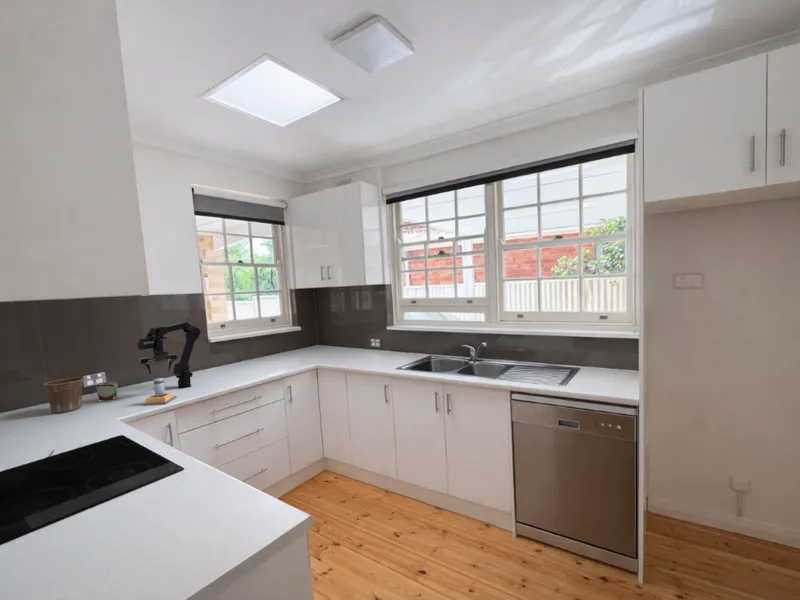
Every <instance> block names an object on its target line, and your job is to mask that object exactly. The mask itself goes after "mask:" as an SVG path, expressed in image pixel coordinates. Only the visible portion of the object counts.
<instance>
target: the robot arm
mask: <svg viewBox="0 0 800 600" xmlns="http://www.w3.org/2000/svg"><path fill="white" fill-rule="evenodd" d="M179 330H182V331H183V333H185V339H186V340H185V344H184V347H183V351H182V353H181V356H180V358H179V359H180V360H179V362H178V363H175V364H174V367H173V369H172V371H173V375H175V377H176V379H177V387H178V388H179V389H185V388H190V387H192V384H191V378H192V377H193V375H194V373H193V372H191V370H190V365H189V361H190V358H191V355H192V351H193V348H194V345H195V342H197V340H198V339H199V338H200V335H201V332H202V331H201V329H200V328H198V327H196V326H194V325H192V324H190V323H189V322H186V321H184V322H183V321H182V322H178V323H173V324H171V325H170V324H169V325H166V326H165V325H164V326H152V327H150V329H149V332H148V333H147V335H146V336H145V338H139V341H138V342H137V349H138V350H139V351H145V350H151V349H152V351H151V352H152V357H150V358H149V357H141V358H140V359H139V364H140V365H143V366H145V367H146V368H147V371H148V373H149V374H150V375H152V370H151V366H150V363H151V362H160V361H161V362H163V361H165V360H167V372H170V370H171V366H172V364H173V362H175V360H178V355H177V354H175V353H173V354H170V353H169V351H165V349H164V348H165V347H164V340H167V338H168V337H165V335H167V334H168V333H171V332H175V331H179Z"/></svg>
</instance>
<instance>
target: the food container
mask: <svg viewBox="0 0 800 600" xmlns="http://www.w3.org/2000/svg"><path fill="white" fill-rule="evenodd" d="M118 387H119V383H118V382H117V381H104V382H98V383H96V384H95V388H96V393H97V398H98V401H99V400H104V401H103V402H113V401H112V400H114V401H116V400H117V397H118V395H117V394H118V393H117V392H118ZM110 400H111V401H110Z"/></svg>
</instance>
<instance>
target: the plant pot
mask: <svg viewBox="0 0 800 600" xmlns="http://www.w3.org/2000/svg"><path fill="white" fill-rule="evenodd" d="M84 379H85V377H84V376H83V377H82V376H81V377H80V376H79V377H69V378H62V379H55V380H52V381H48V382H45V383H43V386H44V387H45V392H47V397H48V402H49V407H50V412H51V414H64V413H69V412H71V411H76V410H79V409H81V408H82V398H83V397H82V395H83V386H84Z"/></svg>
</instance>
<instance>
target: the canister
mask: <svg viewBox="0 0 800 600" xmlns="http://www.w3.org/2000/svg"><path fill="white" fill-rule="evenodd" d="M153 386H154V387H153V389H154V394H155V397H164V396H165V393H166V391H165V379H164V377H158V378H153Z"/></svg>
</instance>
